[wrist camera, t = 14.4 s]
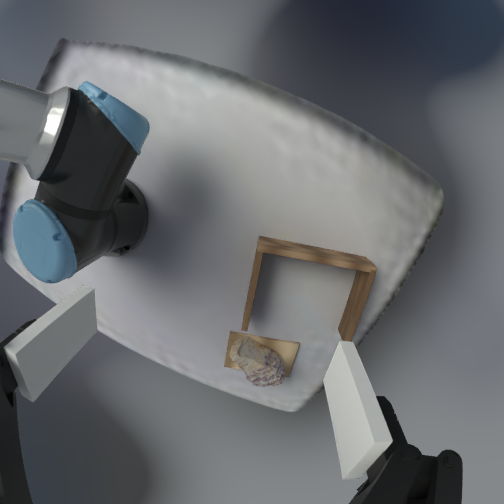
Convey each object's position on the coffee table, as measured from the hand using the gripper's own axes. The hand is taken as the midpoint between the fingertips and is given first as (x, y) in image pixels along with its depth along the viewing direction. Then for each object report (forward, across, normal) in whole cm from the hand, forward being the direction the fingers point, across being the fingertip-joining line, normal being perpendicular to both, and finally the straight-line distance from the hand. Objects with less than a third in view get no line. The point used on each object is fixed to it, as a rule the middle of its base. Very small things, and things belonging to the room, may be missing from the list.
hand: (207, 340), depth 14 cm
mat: (+37, +7, -27) cm, 46 cm away
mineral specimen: (+36, +7, -27) cm, 46 cm away
